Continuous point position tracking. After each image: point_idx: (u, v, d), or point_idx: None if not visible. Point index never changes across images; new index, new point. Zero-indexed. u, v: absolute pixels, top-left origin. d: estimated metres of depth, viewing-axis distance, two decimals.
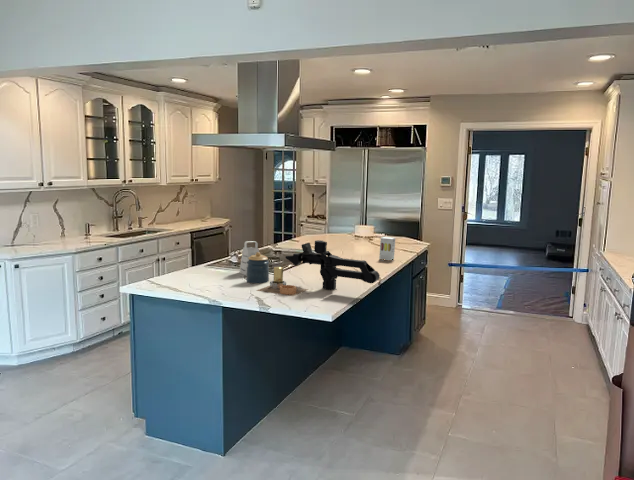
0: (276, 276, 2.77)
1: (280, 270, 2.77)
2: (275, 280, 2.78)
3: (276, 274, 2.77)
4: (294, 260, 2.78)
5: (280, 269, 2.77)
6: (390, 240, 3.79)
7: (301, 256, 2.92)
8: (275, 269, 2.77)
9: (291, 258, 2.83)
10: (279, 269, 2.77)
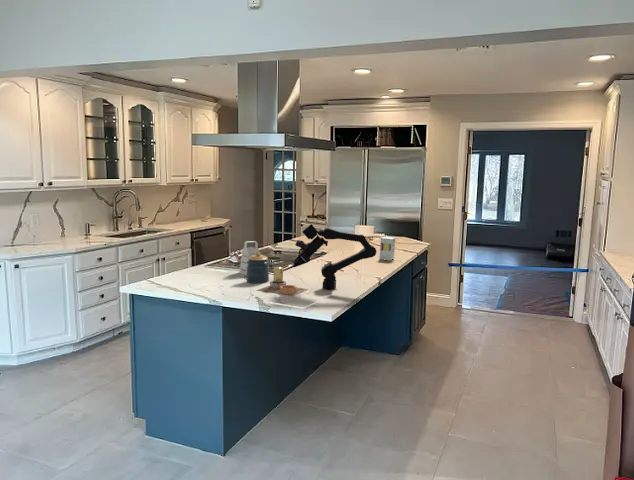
0: (276, 276, 2.77)
1: (280, 270, 2.77)
2: (275, 280, 2.78)
3: (276, 274, 2.77)
4: (305, 258, 2.69)
5: (280, 269, 2.77)
6: (390, 240, 3.79)
7: None
8: (275, 269, 2.77)
9: (299, 261, 2.73)
10: (279, 269, 2.77)
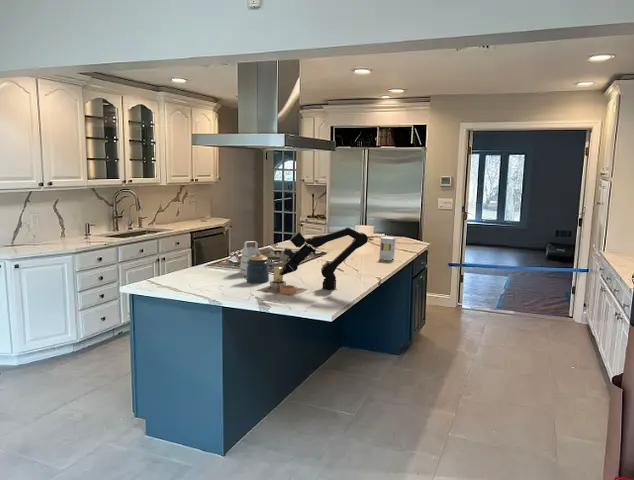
0: (276, 276, 2.77)
1: (280, 270, 2.77)
2: (275, 280, 2.78)
3: (276, 274, 2.77)
4: (292, 266, 2.70)
5: (280, 269, 2.77)
6: (390, 240, 3.79)
7: None
8: (275, 269, 2.77)
9: (287, 270, 2.73)
10: (279, 269, 2.77)
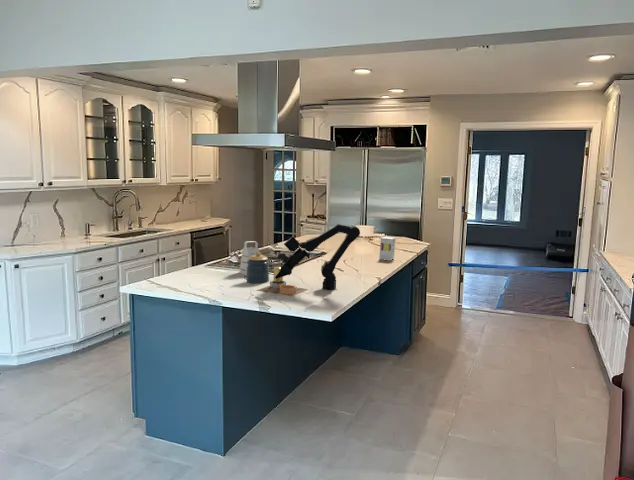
0: None
1: None
2: (275, 280, 2.78)
3: (276, 274, 2.77)
4: (286, 271, 2.70)
5: (280, 269, 2.77)
6: (390, 240, 3.79)
7: None
8: (275, 269, 2.77)
9: (281, 273, 2.75)
10: (279, 269, 2.77)
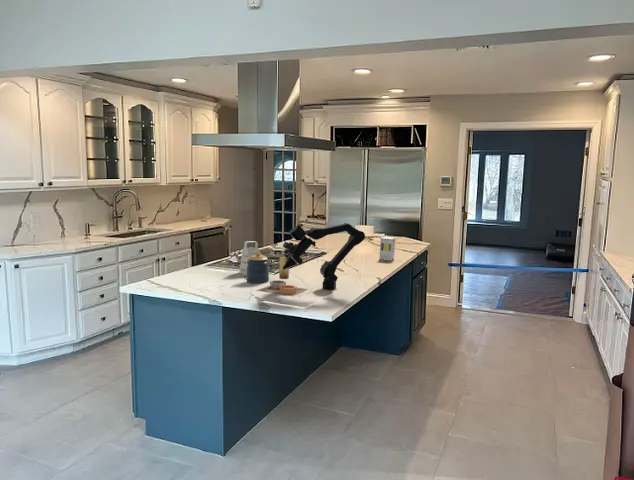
0: None
1: (287, 260, 2.69)
2: (282, 271, 2.69)
3: (283, 264, 2.69)
4: (297, 260, 2.63)
5: (287, 259, 2.69)
6: (390, 240, 3.79)
7: None
8: (282, 259, 2.69)
9: (289, 263, 2.68)
10: (286, 259, 2.69)
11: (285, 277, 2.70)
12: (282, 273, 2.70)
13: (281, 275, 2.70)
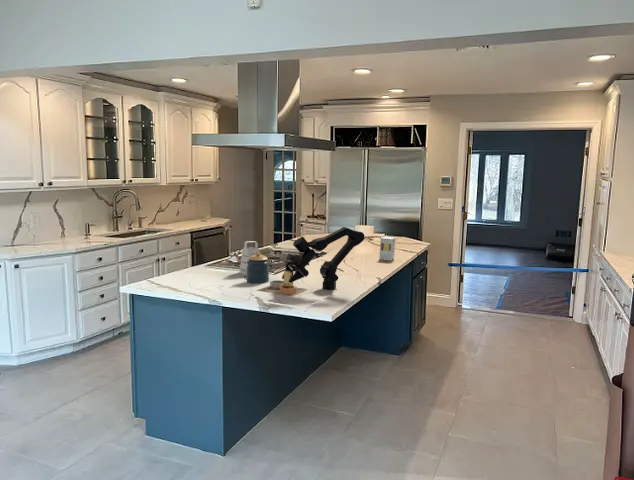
0: (288, 281, 2.67)
1: (292, 274, 2.67)
2: (287, 285, 2.67)
3: (288, 279, 2.67)
4: (304, 272, 2.62)
5: (292, 273, 2.67)
6: (390, 240, 3.79)
7: None
8: (287, 273, 2.66)
9: (296, 276, 2.64)
10: (291, 273, 2.67)
11: None
12: (287, 287, 2.67)
13: None
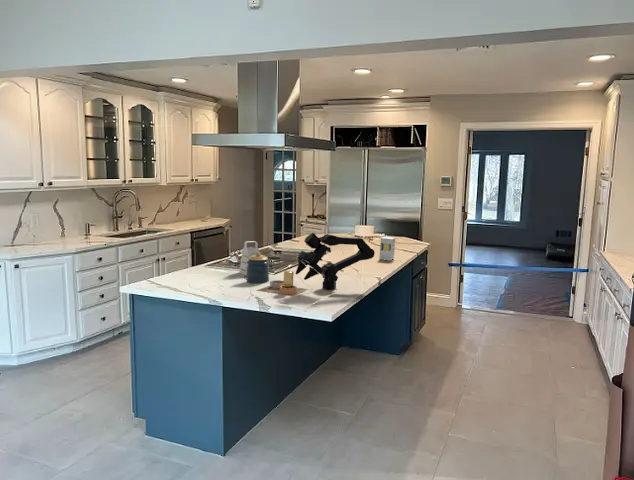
0: (288, 281, 2.67)
1: (292, 274, 2.67)
2: (287, 285, 2.67)
3: (288, 279, 2.66)
4: (318, 270, 2.67)
5: (292, 273, 2.67)
6: (390, 240, 3.79)
7: (301, 267, 2.79)
8: (287, 274, 2.66)
9: (310, 273, 2.70)
10: (291, 273, 2.67)
11: None
12: (287, 287, 2.67)
13: None
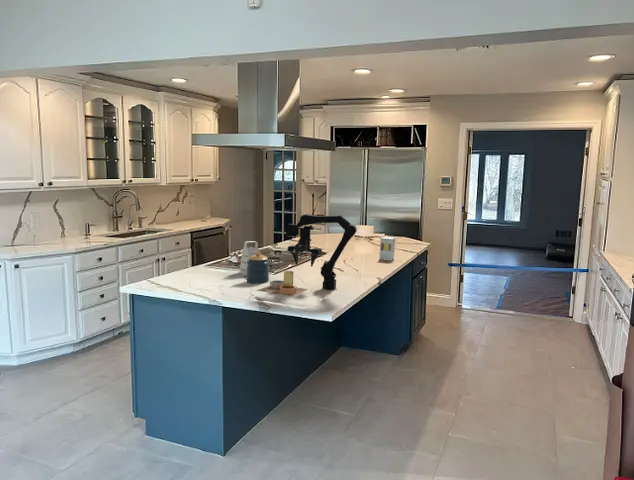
0: (288, 281, 2.67)
1: (292, 274, 2.67)
2: (287, 285, 2.67)
3: (288, 279, 2.66)
4: (320, 252, 2.77)
5: (292, 273, 2.67)
6: (390, 240, 3.79)
7: (296, 255, 2.84)
8: (287, 274, 2.66)
9: (314, 258, 2.79)
10: (291, 273, 2.67)
11: None
12: (287, 287, 2.67)
13: None
